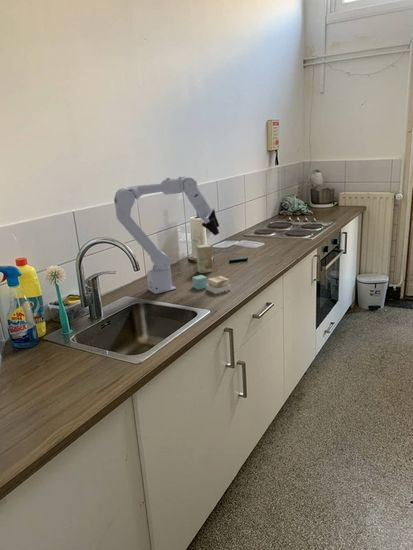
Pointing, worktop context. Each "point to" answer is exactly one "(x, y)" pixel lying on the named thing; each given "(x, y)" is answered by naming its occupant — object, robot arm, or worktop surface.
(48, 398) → the worktop surface
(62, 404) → the worktop surface
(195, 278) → the teal cube
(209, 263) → the skincare box
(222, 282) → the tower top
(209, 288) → the tower base
